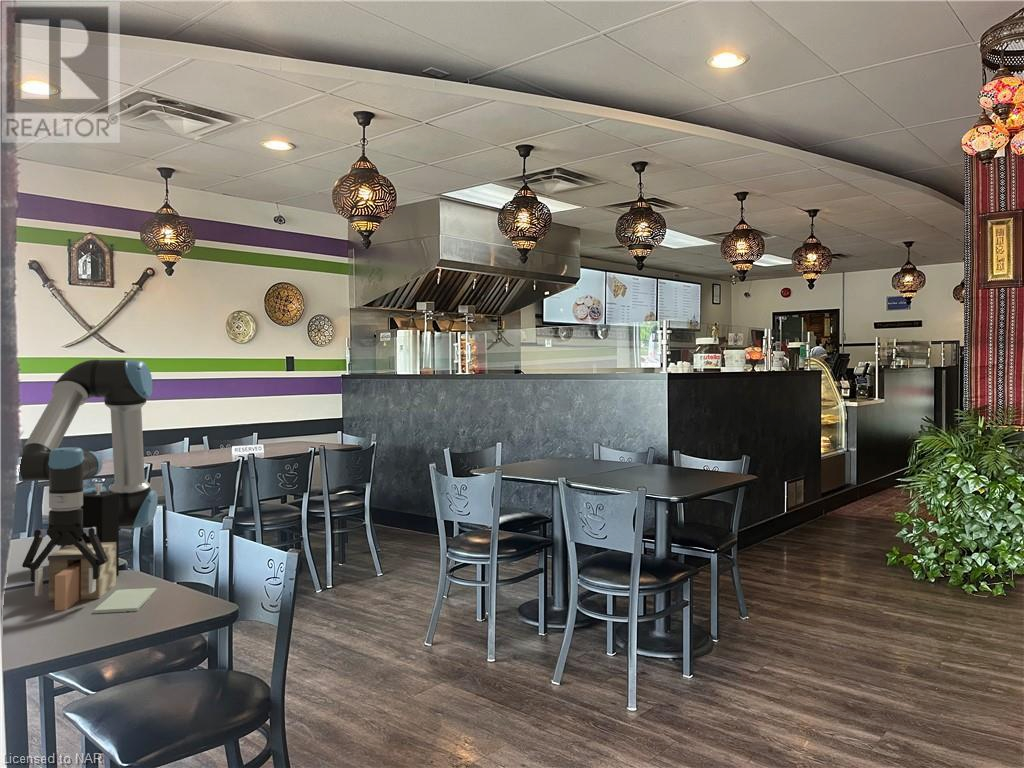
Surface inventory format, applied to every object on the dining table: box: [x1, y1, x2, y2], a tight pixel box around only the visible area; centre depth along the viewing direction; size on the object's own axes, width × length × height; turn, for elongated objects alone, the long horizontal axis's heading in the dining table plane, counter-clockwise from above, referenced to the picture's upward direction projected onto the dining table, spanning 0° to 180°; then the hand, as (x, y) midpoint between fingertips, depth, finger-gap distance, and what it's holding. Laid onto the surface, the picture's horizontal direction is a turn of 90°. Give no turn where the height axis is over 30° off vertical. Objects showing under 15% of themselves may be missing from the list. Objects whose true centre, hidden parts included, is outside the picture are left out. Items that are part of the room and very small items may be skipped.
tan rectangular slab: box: [54, 560, 81, 611], centre depth 191 cm, size 16×2×9 cm, turn 12°
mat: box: [93, 587, 158, 614], centre depth 191 cm, size 18×10×1 cm, turn 12°
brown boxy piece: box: [47, 542, 117, 602], centre depth 198 cm, size 15×12×12 cm
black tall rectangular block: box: [81, 482, 120, 577], centre depth 212 cm, size 8×8×28 cm
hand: (65, 593), depth 187 cm, fingers open, 12 cm apart
